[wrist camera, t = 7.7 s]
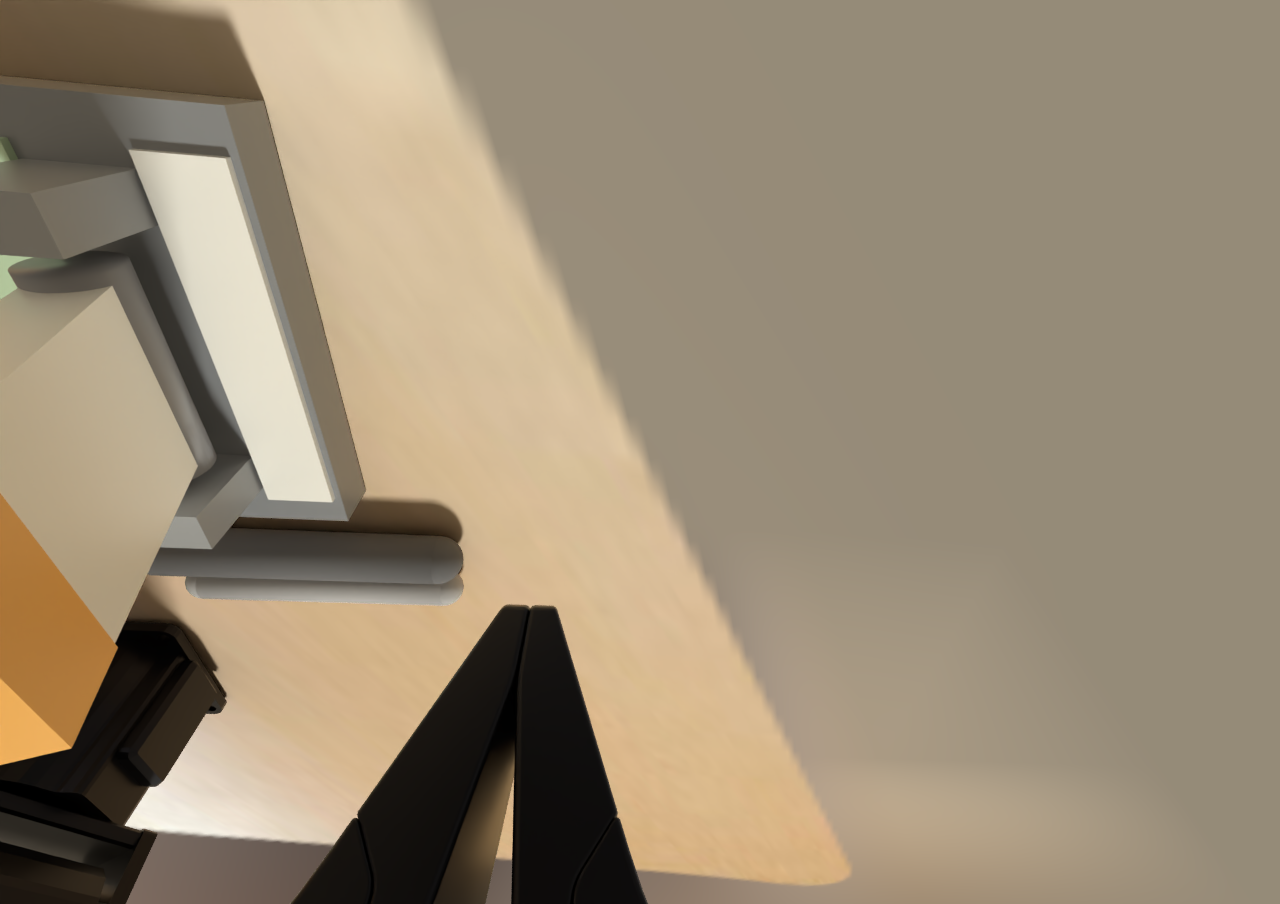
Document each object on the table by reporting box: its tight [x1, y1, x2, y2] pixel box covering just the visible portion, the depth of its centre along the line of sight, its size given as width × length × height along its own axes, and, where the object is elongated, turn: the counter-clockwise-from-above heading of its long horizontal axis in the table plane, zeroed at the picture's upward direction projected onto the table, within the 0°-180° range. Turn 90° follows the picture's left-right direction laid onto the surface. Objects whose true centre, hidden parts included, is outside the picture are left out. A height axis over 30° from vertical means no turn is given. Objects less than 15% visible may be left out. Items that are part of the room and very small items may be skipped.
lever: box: [0, 251, 217, 765], centre depth 11 cm, size 2×6×10 cm, turn 175°
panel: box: [0, 75, 366, 549], centre depth 14 cm, size 7×12×4 cm, turn 175°
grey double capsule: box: [147, 528, 464, 606], centre depth 21 cm, size 12×3×2 cm, turn 85°
